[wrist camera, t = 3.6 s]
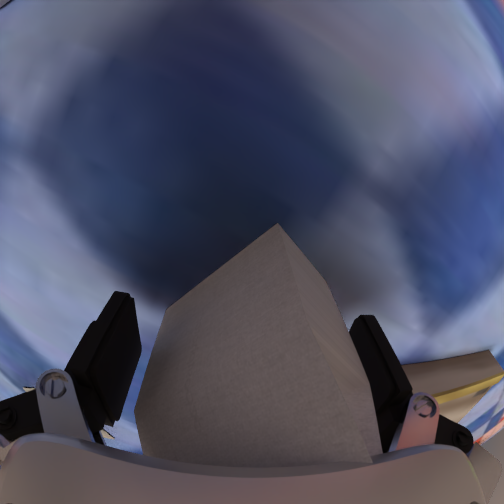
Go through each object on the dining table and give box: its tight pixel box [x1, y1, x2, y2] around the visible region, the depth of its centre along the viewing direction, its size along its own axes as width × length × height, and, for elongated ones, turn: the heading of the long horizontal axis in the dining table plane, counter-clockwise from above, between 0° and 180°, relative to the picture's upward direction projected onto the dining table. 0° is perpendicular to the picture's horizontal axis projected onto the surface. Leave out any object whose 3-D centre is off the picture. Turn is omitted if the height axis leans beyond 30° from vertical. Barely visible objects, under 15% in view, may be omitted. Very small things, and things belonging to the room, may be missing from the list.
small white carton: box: [134, 223, 383, 468], centre depth 8 cm, size 4×7×10 cm, turn 130°
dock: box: [401, 350, 504, 423], centre depth 17 cm, size 18×14×6 cm
